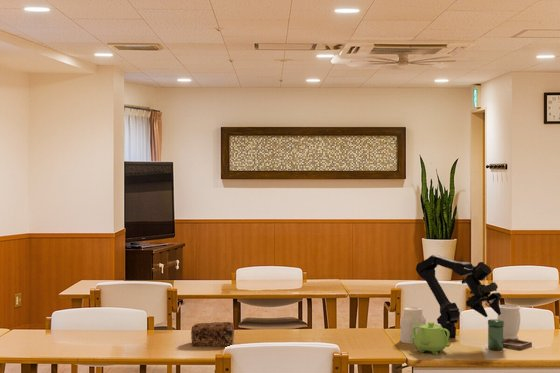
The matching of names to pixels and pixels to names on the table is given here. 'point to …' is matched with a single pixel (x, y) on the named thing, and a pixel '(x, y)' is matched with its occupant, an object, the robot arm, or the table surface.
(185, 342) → the table surface
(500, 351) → the cork coaster
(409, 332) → the jar
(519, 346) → the walnut tray
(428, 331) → the teapot
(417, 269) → the robot arm
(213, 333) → the bread
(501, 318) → the jar
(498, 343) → the tea canister
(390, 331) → the table surface
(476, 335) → the table surface
